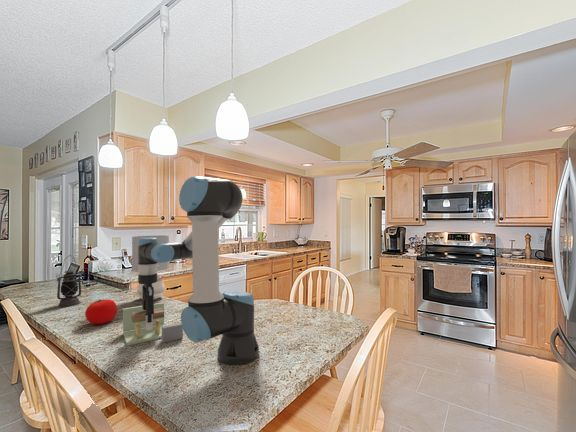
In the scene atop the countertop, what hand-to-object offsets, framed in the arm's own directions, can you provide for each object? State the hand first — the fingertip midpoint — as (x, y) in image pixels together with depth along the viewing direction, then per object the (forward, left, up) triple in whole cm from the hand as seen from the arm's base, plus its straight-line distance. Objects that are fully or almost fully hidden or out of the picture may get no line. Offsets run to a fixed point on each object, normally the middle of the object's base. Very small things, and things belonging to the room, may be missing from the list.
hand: (147, 327), depth 126 cm
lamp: (+68, -12, -4) cm, 69 cm away
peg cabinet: (+3, 0, -4) cm, 5 cm away
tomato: (+33, +16, -4) cm, 37 cm away
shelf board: (0, 0, +4) cm, 4 cm away
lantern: (+83, +31, -4) cm, 89 cm away
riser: (-9, -8, -4) cm, 13 cm away
